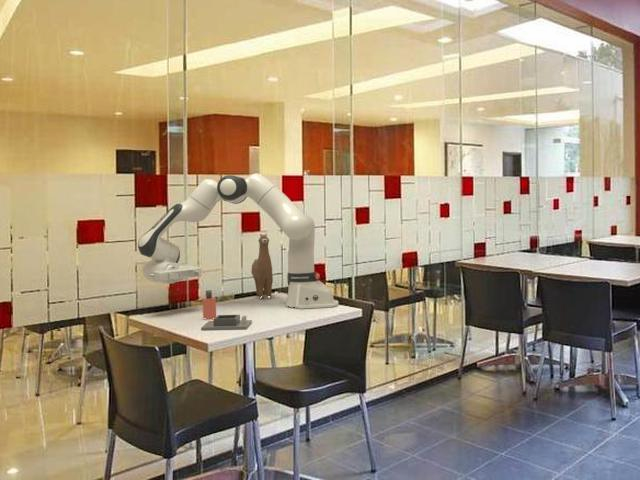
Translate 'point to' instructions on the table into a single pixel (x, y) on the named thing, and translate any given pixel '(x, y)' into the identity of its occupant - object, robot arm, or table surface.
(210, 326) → the dock
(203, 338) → the table surface
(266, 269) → the toy
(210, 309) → the plug
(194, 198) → the robot arm
